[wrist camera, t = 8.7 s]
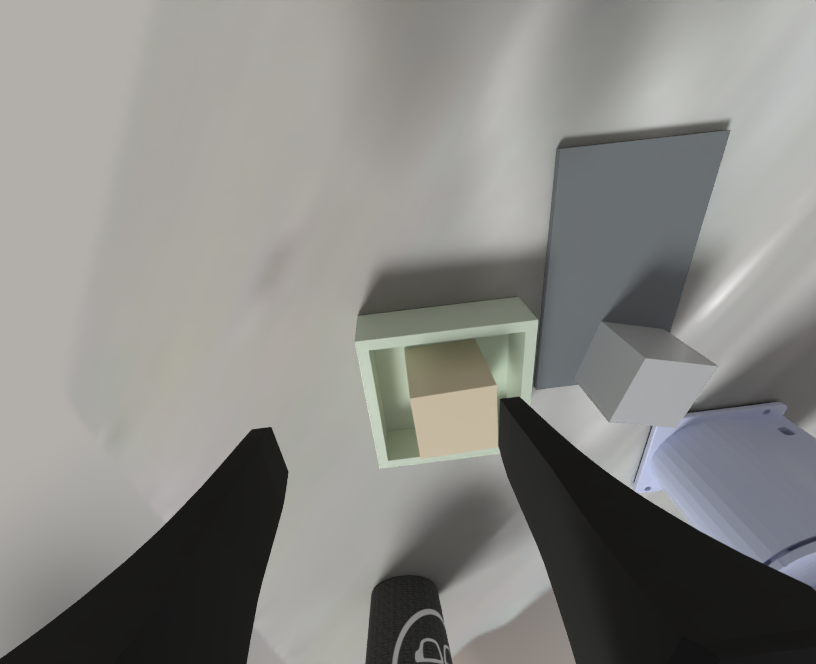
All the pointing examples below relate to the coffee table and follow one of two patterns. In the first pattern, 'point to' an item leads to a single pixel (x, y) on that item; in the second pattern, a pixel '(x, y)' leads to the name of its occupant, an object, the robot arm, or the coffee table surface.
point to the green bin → (395, 331)
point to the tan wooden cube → (452, 398)
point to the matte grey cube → (642, 375)
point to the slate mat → (620, 240)
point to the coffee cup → (406, 623)
